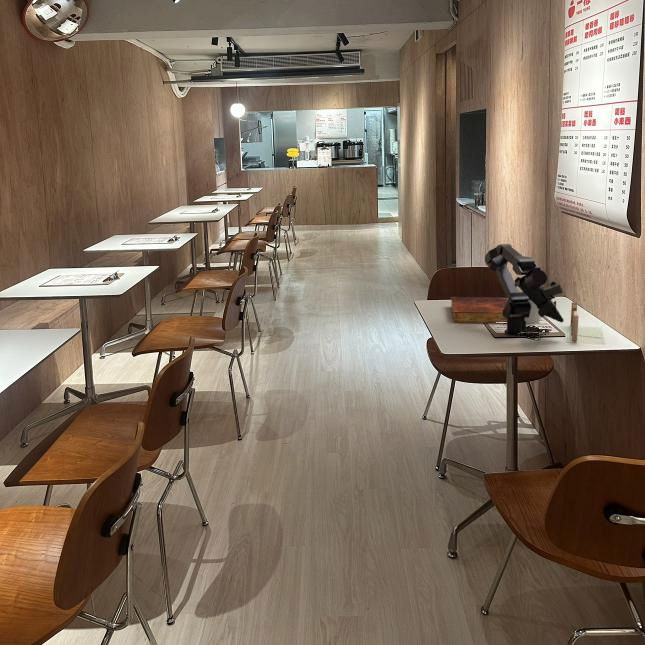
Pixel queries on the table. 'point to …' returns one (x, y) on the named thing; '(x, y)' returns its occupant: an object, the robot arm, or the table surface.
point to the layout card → (586, 335)
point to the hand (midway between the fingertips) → (562, 321)
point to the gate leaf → (575, 326)
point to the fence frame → (574, 308)
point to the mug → (533, 314)
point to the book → (478, 309)
